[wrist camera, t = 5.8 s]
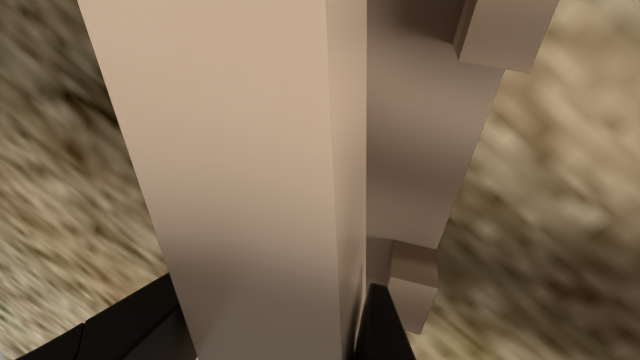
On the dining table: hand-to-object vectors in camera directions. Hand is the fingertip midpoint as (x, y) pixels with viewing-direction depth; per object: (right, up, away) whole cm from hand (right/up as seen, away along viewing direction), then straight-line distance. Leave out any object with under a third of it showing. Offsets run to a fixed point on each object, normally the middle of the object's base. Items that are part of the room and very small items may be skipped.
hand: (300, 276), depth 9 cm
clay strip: (0, +1, +1) cm, 1 cm away
